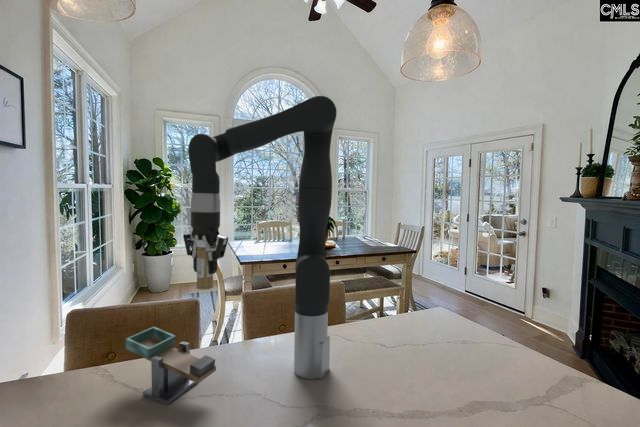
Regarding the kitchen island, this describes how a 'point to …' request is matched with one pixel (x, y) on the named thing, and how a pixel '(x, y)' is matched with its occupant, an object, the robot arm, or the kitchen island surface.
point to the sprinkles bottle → (203, 267)
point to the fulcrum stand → (167, 380)
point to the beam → (170, 354)
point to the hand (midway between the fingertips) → (205, 272)
